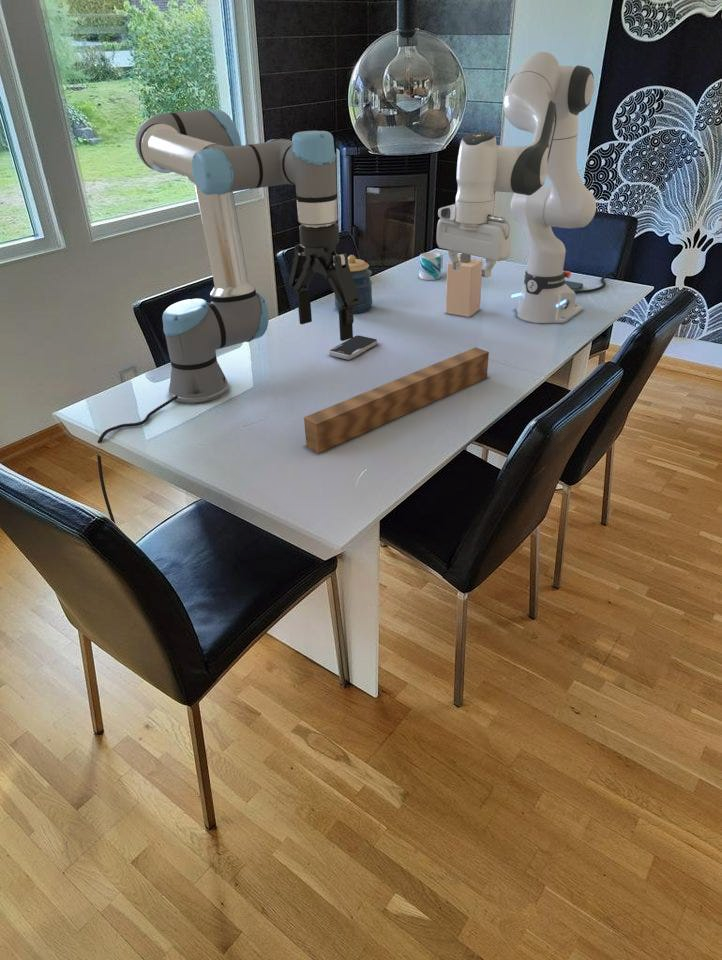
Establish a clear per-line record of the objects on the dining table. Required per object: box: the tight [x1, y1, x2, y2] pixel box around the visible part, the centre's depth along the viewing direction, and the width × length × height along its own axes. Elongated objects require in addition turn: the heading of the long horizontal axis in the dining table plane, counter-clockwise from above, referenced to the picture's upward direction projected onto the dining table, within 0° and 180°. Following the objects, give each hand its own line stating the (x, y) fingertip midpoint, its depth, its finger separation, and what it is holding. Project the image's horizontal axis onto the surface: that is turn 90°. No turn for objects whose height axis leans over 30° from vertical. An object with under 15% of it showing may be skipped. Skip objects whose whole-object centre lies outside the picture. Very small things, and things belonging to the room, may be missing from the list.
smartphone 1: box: [328, 334, 378, 361], centre depth 198 cm, size 8×1×15 cm
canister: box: [334, 254, 373, 314], centre depth 225 cm, size 13×13×18 cm
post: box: [303, 347, 490, 454], centre depth 163 cm, size 57×5×7 cm, turn 131°
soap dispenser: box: [445, 253, 484, 318], centre depth 219 cm, size 13×9×22 cm
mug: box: [418, 251, 444, 281], centre depth 257 cm, size 8×12×8 cm
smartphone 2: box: [565, 280, 584, 291], centre depth 241 cm, size 8×2×15 cm
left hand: (325, 330), depth 139 cm, fingers open, 13 cm apart
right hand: (470, 272), depth 161 cm, fingers open, 8 cm apart
